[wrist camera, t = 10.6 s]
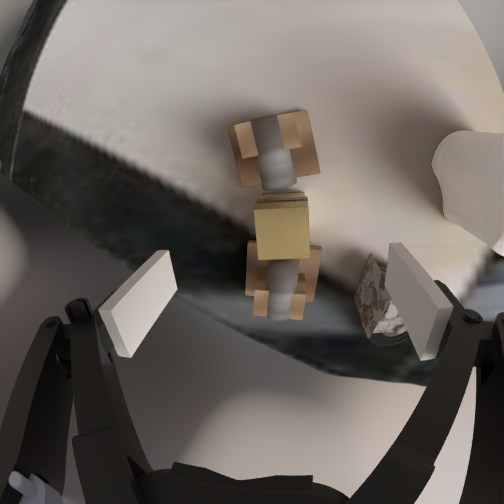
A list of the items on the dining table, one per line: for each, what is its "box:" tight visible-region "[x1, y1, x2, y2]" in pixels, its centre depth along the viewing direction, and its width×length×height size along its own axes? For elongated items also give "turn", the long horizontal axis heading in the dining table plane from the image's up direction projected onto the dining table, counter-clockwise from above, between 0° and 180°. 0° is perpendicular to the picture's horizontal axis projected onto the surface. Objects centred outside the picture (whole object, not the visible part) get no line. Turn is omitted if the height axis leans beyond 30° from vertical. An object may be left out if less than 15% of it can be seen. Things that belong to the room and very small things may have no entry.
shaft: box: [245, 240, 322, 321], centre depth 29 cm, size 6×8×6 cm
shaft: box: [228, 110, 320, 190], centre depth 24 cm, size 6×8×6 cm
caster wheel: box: [354, 254, 410, 346], centre depth 29 cm, size 7×11×10 cm
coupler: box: [254, 192, 310, 260], centre depth 26 cm, size 5×5×7 cm
